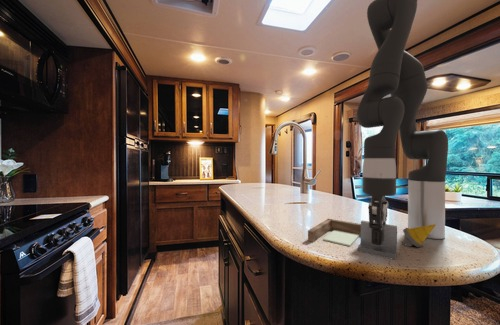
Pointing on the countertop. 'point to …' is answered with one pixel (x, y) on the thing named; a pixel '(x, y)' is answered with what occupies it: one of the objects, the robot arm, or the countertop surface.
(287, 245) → the countertop surface
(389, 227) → the angle bracket
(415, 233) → the yellow spiral cone
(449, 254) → the countertop surface
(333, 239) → the mat
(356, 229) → the corner walls
